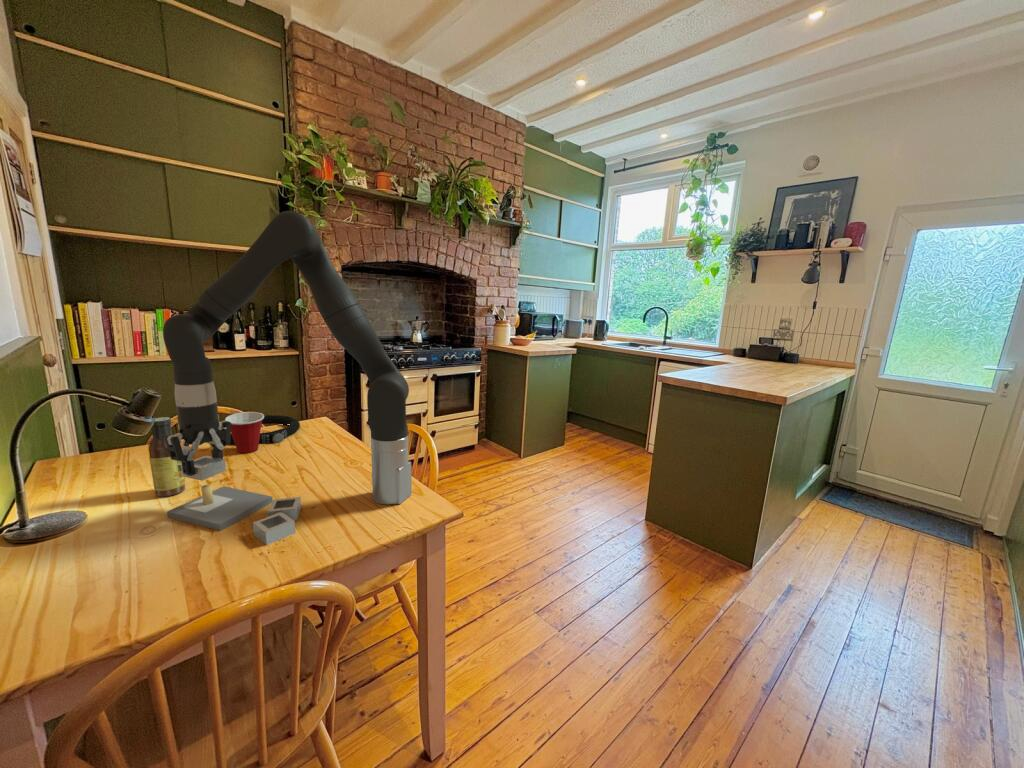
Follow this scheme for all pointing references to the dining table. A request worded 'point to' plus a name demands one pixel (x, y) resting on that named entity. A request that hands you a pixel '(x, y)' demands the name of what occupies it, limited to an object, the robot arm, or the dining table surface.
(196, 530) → the dining table surface
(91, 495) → the dining table surface
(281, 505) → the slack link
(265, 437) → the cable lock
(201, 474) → the grey square ring
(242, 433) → the plastic cup
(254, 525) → the slack link
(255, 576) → the dining table surface
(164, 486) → the sauce bottle
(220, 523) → the keeper board
